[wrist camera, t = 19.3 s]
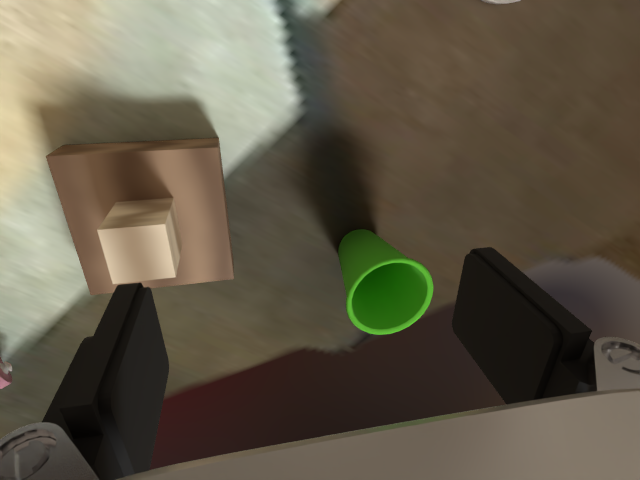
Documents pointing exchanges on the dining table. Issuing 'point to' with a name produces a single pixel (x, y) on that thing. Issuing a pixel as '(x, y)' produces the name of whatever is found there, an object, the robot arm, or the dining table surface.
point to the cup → (382, 284)
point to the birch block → (141, 240)
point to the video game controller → (5, 374)
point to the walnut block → (145, 184)
